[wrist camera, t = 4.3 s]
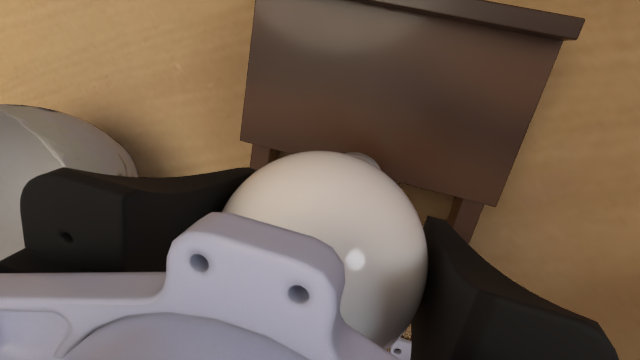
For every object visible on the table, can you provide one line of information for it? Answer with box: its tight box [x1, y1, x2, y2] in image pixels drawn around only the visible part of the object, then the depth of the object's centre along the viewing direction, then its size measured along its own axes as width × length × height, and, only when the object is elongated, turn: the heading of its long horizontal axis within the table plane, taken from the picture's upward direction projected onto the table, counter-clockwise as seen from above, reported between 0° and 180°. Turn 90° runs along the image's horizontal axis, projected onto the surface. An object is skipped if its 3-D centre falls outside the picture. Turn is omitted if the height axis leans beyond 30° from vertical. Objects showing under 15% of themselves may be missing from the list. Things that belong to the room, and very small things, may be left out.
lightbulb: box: [222, 151, 428, 350], centre depth 14 cm, size 6×6×11 cm
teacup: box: [0, 104, 138, 261], centre depth 26 cm, size 15×12×8 cm
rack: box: [240, 0, 585, 245], centre depth 21 cm, size 18×14×6 cm
